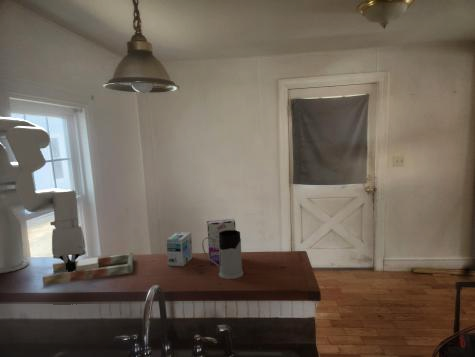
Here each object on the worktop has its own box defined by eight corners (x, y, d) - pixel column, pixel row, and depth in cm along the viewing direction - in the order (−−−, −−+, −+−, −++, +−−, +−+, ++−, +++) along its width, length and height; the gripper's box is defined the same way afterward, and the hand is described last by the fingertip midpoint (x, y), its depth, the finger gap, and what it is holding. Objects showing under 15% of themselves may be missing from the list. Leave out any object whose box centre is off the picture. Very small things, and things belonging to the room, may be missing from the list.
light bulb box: (183, 266, 117) (182, 239, 116) (167, 266, 118) (165, 239, 117) (193, 257, 127) (191, 232, 126) (178, 256, 129) (176, 231, 128)
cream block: (77, 276, 112) (76, 266, 111) (79, 270, 118) (78, 260, 118) (98, 273, 114) (97, 262, 114) (98, 266, 121) (98, 257, 121)
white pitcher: (243, 278, 104) (242, 235, 103) (202, 280, 104) (200, 237, 103) (242, 268, 113) (241, 229, 112) (204, 270, 113) (203, 230, 112)
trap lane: (43, 285, 104) (42, 277, 104) (54, 270, 118) (53, 263, 117) (132, 272, 113) (131, 264, 113) (133, 260, 126) (132, 253, 126)
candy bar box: (235, 257, 125) (233, 218, 124) (237, 261, 121) (235, 220, 119) (208, 260, 123) (206, 220, 122) (209, 264, 118) (207, 223, 117)
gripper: (40, 227, 106) (45, 278, 107) (87, 223, 110) (91, 272, 112) (47, 223, 113) (51, 271, 114) (91, 219, 117) (94, 265, 119)
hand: (71, 271), depth 113 cm, fingers closed
